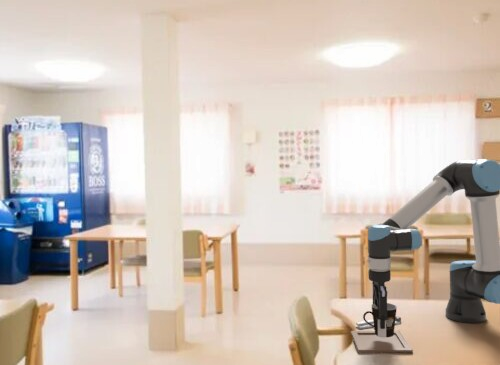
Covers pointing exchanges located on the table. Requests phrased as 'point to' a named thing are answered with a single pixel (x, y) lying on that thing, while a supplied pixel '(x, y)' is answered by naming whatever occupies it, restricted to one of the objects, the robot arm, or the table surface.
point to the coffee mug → (389, 322)
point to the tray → (380, 343)
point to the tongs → (365, 325)
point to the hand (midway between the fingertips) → (379, 333)
